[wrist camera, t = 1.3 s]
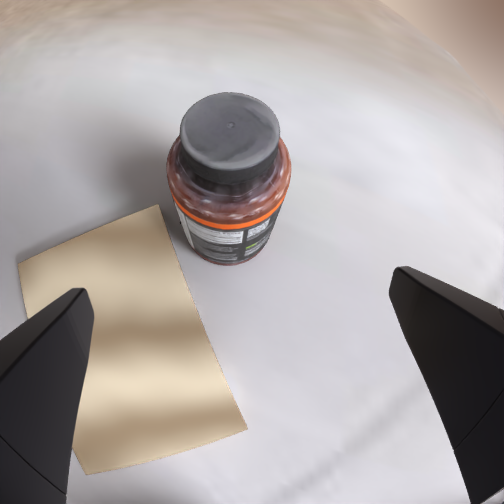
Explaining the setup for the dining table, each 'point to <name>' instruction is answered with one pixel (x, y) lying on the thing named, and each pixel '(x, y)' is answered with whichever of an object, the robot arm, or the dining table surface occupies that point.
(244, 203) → the supplement bottle
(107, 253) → the board
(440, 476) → the dining table surface
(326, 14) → the dining table surface
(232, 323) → the dining table surface
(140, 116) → the dining table surface
